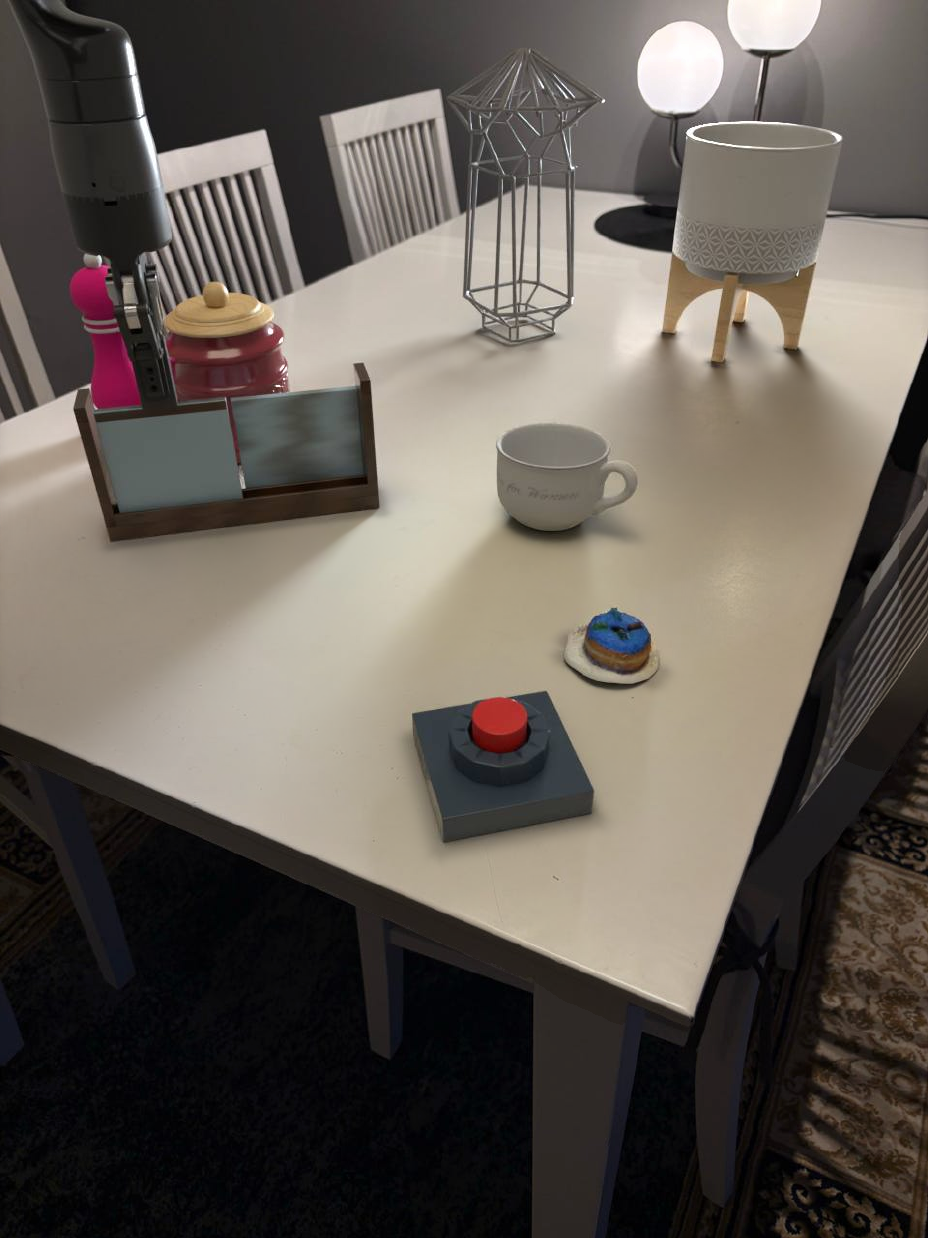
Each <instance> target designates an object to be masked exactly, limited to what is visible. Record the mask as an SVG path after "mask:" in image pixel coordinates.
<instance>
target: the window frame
mask: <svg viewBox="0 0 928 1238" xmlns="http://www.w3.org/2000/svg"><path fill="white" fill-rule="evenodd" d="M353 376H354V385H349V386H339V387H329V388H328V387H327V388H317V389H309V390H308V389H307V390H299V391H290V392H287V393H277V394H266V395H256V396H246V397H236V398H231V405H232V411H233V417H234V423H235V429H236V435H237V440H238V446H239V452H240V458H241V463H240V465H241V469H242V474H243V482H244V487H245V488H242V494H243V499H235V500H226V501H218V502H209V503H201V504H193V505H184V506H176V507H167V508H159V509H151V510H142V511H134V512H125V513H120V512H119V509H118V505H117V501H116V497H115V494H114V490H113V486H112V482H111V479H110V475H109V471H108V468H107V464H106V460H105V456H104V453H103V449H102V445H101V441H100V438H99V434H98V430H97V426H96V423H95V419H94V415H93V411H94V410H96V407H95V405H94V403H93V400H92V396H91V388H89V387H88V388H87V387H86V388H78V389H77V391H76V396H75V400H74V403H73V408H72V409H73V414H74V417H75V421H76V424H77V428H78V432H79V435H80V438H81V442H82V445H83V449H84V453H85V457H86V460H87V463H88V468H89V470H90V474H91V478H92V481H93V485H94V489H95V491H96V496H97V499H98V503H99V506H100V509H101V513H102V517H103V520H104V525H105V528H106V531H107V535H108V539H109V541H110V542H116V541H123V540H131V539H132V540H133V539H140V538H147V537H154V536H155V537H156V536H164V535H171V534H181V533H187V532H195V531H196V532H197V531H204V530H211V529H213V530H214V529H220V528H227V527H228V528H229V527H237V526H246V525H252V524H253V525H254V524H260V523H270V522H277V521H284V520H285V521H286V520H292V519H301V518H309V517H317V516H324V515H334V514H341V513H342V514H343V513H348V512H358V511H366V510H373V509H380V508H381V505H380V493H379V480H378V465H377V463H378V462H377V450H376V438H375V437H376V435H375V422H374V421H375V420H374V408H373V407H374V406H373V394H372V380H371V377H370V375H369V373H368V370H367V367H366V366H365V362H356V363H355V362H354V363H353Z"/></svg>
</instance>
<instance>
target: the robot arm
mask: <svg viewBox="0 0 928 1238" xmlns="http://www.w3.org/2000/svg"><path fill="white" fill-rule="evenodd" d="M6 1H7V3H8V5H9V7H10V9H11V12H12V14H13V16H14V18H15V21H16V23H17V25H18V28H19V29H20V32H21V34H22V37H23V39H24V42H25V44H26V46H27V49H28V52H29V55H30V57H31V61H32V63H33V68H34V71H35V76H36V79H37V83H38V87H39V90H40V95H41V99H42V102H43V108H44V110H45V115H46V118H47V125H48V129H49V130H48V131H49V139H50V147H51V154H52V158H53V164H54V167H55V171H56V175H57V179H58V183H59V186H60V191H61V193H62V194H61V195H62V199H63V203H64V206H65V210H66V215H67V218H68V223H69V226H70V230H71V234H72V238H73V242H74V245H75V247H76V249H77V250H79V251H80V252H81V253H83V254H84V255H85V254H88V255H92V256H98V255H100V256H101V257H104V258H106V259H107V260H109V262H110V266H109V267H108V268H107V273H108V276H105V283H106V288H107V292H108V296H109V298H110V299H111V300H112V301H113V304H114V311H113V315H114V317H116V321H117V324H118V326H119V330H120V332H121V335H122V338H123V341H124V344H125V347H126V350H127V356H128V357H129V359H130V361H131V362H133V361H135V362H136V367H137V371H138V375H139V380H140V384H141V388H142V393H143V397H144V399H145V400H146V401H148V402H152V401H162V400H167V399H168V398H169V396H170V391H169V386H168V381H167V376H166V372H165V367H164V362H163V354H164V351H163V348H161V343H160V338H159V335H161V334H163V332H164V330H163V328H165V325H164V320H163V319H164V308H163V303H162V298H161V293H160V280H161V279H160V274H159V268H158V265H157V263H153V262H152V261H148V257H147V253H154V252H157V251H159V250H162V249H164V248H166V247H167V246H168V245H170V244H171V242H172V240H173V231H172V226H171V221H170V217H169V211H168V206H167V200H166V194H165V189H164V184H163V179H162V175H161V168H160V163H159V158H158V157H159V156H158V153H157V148H156V143H155V141H154V140H155V139H154V137H153V133H152V131H151V128H150V125H149V120H148V116H147V114H146V112H147V111H146V106H145V102H144V101H145V100H144V96H143V91H142V85H141V81H140V75H139V73H138V72H139V71H138V65H137V59H136V55H135V50H134V46H133V42H132V40H131V37H130V36H129V33H128V32H127V31H126V30H125V28H123V26H121V25H119V24H117V23H116V22H112V21H109V20H106V19H101V18H96V17H92V16H88V15H83V14H79V13H78V12H75V11H73V10H70V9H69V8H68V7H66V6H65V4H64V3H63V2H62V1H61V0H6ZM136 343H149V344H146V345H137V344H136Z"/></svg>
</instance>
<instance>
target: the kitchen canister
mask: <svg viewBox="0 0 928 1238" xmlns="http://www.w3.org/2000/svg"><path fill="white" fill-rule="evenodd" d="M274 317H275V313H274V310H273V309H272V308H271V306H270V305H267V304H266V303H263V302H261V301H260V300H258V299H257V298H256V297H254V296H251V295H249V294H245V293H238V292H229V290H228V289H227V287H226V286H225V285H224V284H223V283H222V282H219V281H210V282H208V283H206V284H205V285H204V286H203V289H202V294H201V295H197V296H192V297H189V298H186V299H184V300H183V301H181V302H179V303H178V304H177V305H176V307H175V308H174V309H173V310H171V311H170V312H169V313H167V315H166V316H165V317H164V318H163V319H164V320H163V325H164V328H166V330H168V332H167V333H165V334H164V336H165V341H166V345H167V350H168V355H169V360H170V365H171V370H172V374H173V379H174V384H175V389H176V394H177V399H178V401H188V400H198V399H208V398H218V397H226V401H227V407H228V413H229V419H230V424H231V430H232V436H233V442H234V448H235V453H236V459H237V464H241V458H240V452H239V446H238V440H237V435H236V429H235V423H234V417H233V411H232V405H231V398H236V397H246V396H256V395H266V394H277V393H287V392H291V388H290V382H289V373H288V370H289V362H288V360H287V358H286V357H285V356H284V355H283V351H282V347H281V345H282V344H283V343H284V340H285V331H284V330H283V328H281V327H280V325H278V324H276V323H275V322H273V321H272V320H273V319H274ZM178 401H177V402H178Z"/></svg>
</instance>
